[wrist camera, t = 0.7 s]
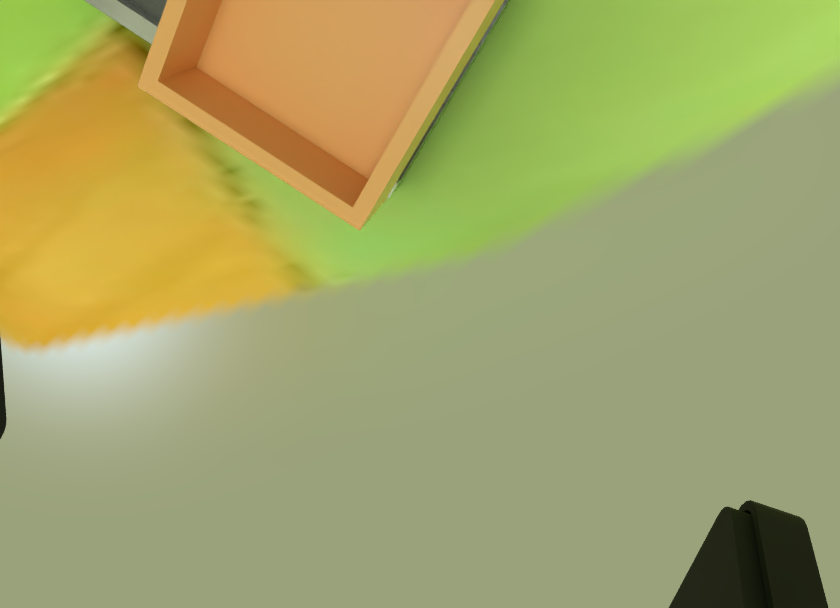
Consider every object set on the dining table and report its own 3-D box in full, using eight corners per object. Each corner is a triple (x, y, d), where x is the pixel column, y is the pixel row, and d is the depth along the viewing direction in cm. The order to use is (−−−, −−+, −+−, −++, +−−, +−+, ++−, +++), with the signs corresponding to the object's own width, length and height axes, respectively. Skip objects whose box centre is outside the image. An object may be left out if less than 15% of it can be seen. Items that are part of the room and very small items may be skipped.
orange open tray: (200, 63, 40) (137, 86, 35) (293, -173, 34) (233, -188, 28) (393, 190, 40) (359, 230, 35) (519, -21, 34) (500, -9, 29)
